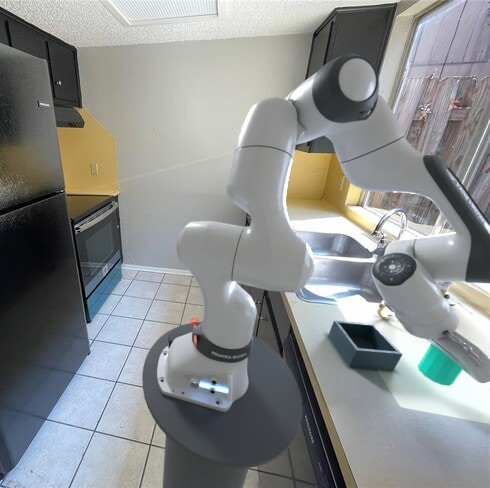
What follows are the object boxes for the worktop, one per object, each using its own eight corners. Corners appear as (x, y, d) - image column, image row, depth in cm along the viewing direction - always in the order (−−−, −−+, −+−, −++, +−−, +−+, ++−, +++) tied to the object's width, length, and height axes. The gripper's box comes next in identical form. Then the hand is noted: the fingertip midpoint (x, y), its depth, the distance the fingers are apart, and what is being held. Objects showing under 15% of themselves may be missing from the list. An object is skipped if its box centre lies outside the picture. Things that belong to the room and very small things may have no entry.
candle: (438, 387, 57) (466, 346, 52) (411, 364, 62) (433, 326, 58) (460, 384, 58) (489, 344, 53) (431, 362, 63) (455, 324, 59)
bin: (349, 366, 67) (356, 350, 65) (328, 335, 77) (333, 320, 75) (393, 370, 66) (402, 354, 64) (366, 339, 77) (373, 323, 74)
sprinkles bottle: (434, 297, 98) (452, 266, 93) (424, 290, 102) (440, 260, 97) (447, 298, 98) (465, 267, 93) (436, 291, 102) (453, 261, 97)
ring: (391, 315, 87) (401, 296, 84) (399, 322, 84) (409, 302, 81) (370, 314, 87) (379, 294, 84) (377, 320, 84) (386, 300, 81)
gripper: (498, 347, 44) (523, 390, 47) (402, 282, 62) (425, 317, 66) (458, 364, 45) (485, 405, 49) (376, 296, 64) (400, 329, 68)
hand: (450, 354), depth 58 cm, fingers closed on candle, 5 cm apart
